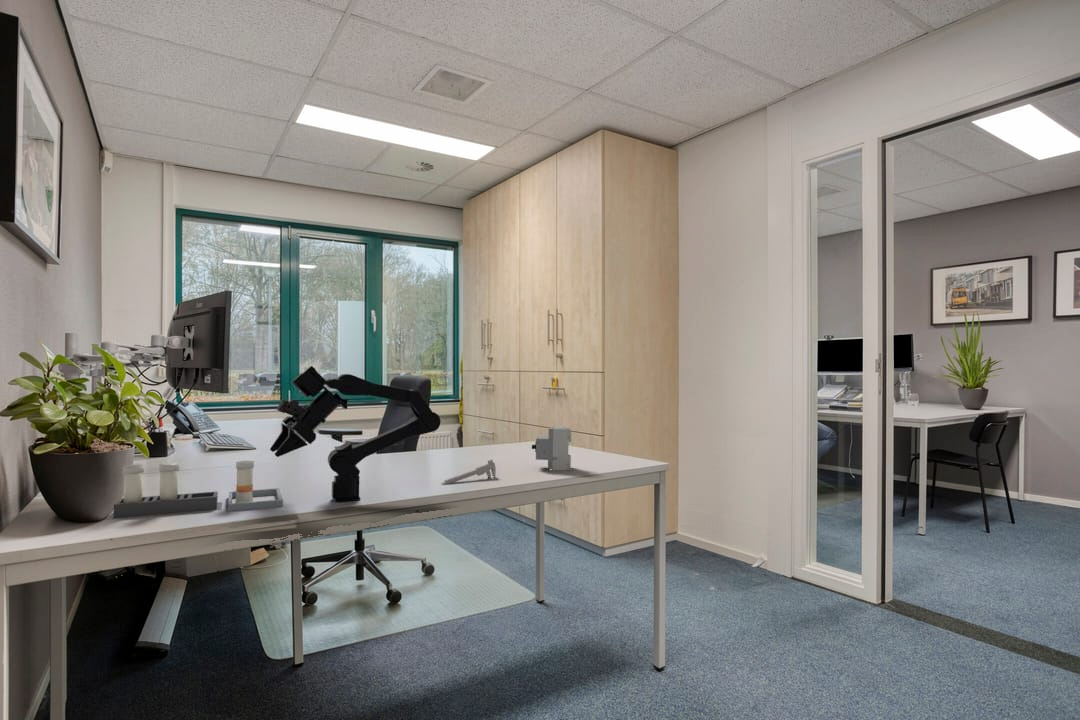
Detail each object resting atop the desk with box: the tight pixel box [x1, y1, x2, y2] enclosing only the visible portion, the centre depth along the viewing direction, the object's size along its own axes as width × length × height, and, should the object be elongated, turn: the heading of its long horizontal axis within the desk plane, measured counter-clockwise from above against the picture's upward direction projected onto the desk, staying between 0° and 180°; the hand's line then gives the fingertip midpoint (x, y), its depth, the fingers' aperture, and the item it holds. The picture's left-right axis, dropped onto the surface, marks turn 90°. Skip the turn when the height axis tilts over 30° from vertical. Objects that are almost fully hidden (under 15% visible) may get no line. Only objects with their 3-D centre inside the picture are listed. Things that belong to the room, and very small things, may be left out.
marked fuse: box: [234, 460, 255, 503], centre depth 145 cm, size 4×4×11 cm
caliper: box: [441, 459, 497, 485], centre depth 185 cm, size 20×1×6 cm, turn 131°
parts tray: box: [227, 487, 284, 512], centre depth 146 cm, size 12×15×3 cm
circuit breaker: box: [531, 425, 572, 471], centre depth 210 cm, size 8×14×15 cm, turn 88°
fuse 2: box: [158, 462, 180, 500], centre depth 136 cm, size 4×4×11 cm
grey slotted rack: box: [106, 491, 223, 521], centre depth 136 cm, size 22×8×4 cm, turn 118°
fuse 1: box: [122, 463, 145, 503], centre depth 133 cm, size 4×4×11 cm
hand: (273, 453), depth 148 cm, fingers open, 9 cm apart
